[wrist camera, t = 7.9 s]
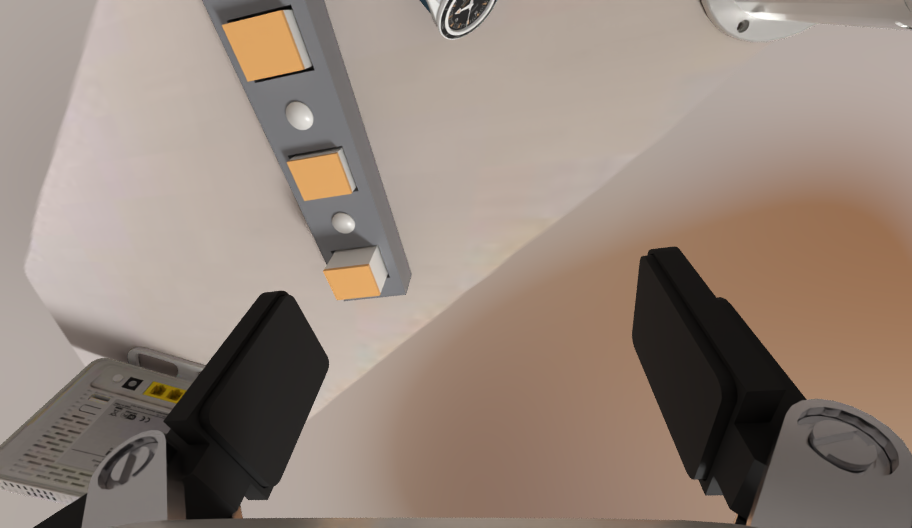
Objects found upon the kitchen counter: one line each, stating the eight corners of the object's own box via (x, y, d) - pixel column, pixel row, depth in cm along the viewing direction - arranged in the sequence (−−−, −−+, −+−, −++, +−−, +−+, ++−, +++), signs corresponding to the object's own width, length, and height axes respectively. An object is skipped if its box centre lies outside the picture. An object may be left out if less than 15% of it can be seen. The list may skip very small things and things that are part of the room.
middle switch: (350, 138, 38) (336, 153, 34) (363, 175, 40) (351, 193, 36) (305, 146, 39) (286, 162, 35) (320, 182, 41) (304, 201, 37)
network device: (112, 367, 64) (-15, 492, 48) (105, 336, 60) (-38, 462, 43) (262, 410, 69) (192, 537, 53) (267, 383, 64) (191, 515, 48)
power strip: (311, -40, 30) (288, -45, 27) (411, 274, 48) (405, 295, 45) (224, -17, 31) (191, -19, 28) (353, 281, 49) (343, 302, 46)
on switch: (304, 8, 31) (280, 10, 28) (323, 61, 34) (303, 69, 30) (252, 22, 32) (221, 25, 29) (273, 72, 34) (247, 81, 31)
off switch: (378, 242, 42) (367, 265, 38) (388, 271, 44) (379, 295, 40) (337, 247, 43) (322, 271, 39) (349, 275, 45) (337, 300, 41)
